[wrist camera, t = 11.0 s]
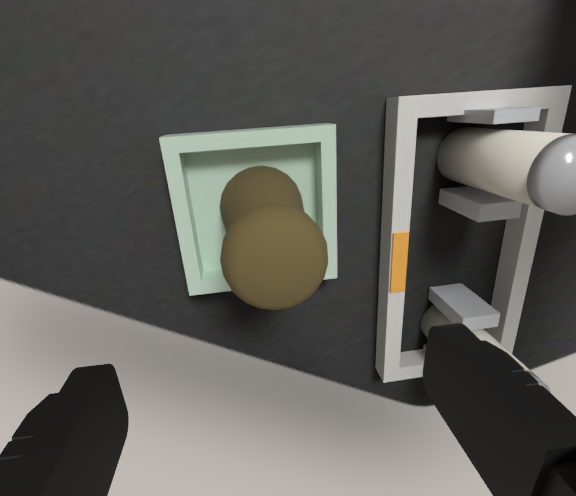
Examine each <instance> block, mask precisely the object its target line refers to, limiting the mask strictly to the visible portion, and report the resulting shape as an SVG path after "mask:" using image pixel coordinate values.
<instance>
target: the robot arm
mask: <svg viewBox="0 0 576 496" xmlns="http://www.w3.org/2000/svg"><path fill="white" fill-rule="evenodd" d="M423 381H424V386H425V389H426V391H427V393H428V395H429V397H430V399H431V400H432V402H433V403H434V405H435V406H436V408H437V410H438V411H439V413H440V414H441V416H442V417H443V419H444V420H445V422H446V423H447V425H448V427H449V428H450V430H451V431H452V433H453V434H454V436H455V437H456V439H457V440H458V442H459V444H460V445H461V447H462V448H463V449H464V451H465V453H466V454H467V456H468V457H469V459H470V461H471V462H472V464H473V465H474V467H475V468H476V470H477V471H478V473H479V474H480V476H481V478H482V479H483V480H484V482H485V484H486V485H487V487H488V488H489V490H490V491H491V493H492V495H493V496H576V416H574V415H573V414H572V413H571V412H570V411H569V410H568V409H567V408H566V407H565V406H564V405H563V404H562V403H561V402H559V401H558V400H557V399H556V398H555V397H554V396H553V395H552V394H551V393H550V392H549V391H548V390H547V389H546V388H545V387H543V386H542V385H541V386H540V385H539V383H538V381H537V380H536V379H535V378H534V377H533V376H532V375H531V374H530V373H529V372H525V371H524V368H523V367H522V366H521V365H520V364H519V363H518V362H517V361H516V360H515V359H514V358H512V357H511V356H510V355H509V354H508V353H507V352H505V351H504V350H502V349H500V348H498V347H497V346H495V345H493V344H491V343H490V342H488V341H486V340H483V341H481V340H480V339H479V338H478V337H477V336H476V335H475V334H474V333H473V332H472V331H471V330H470V329H469V328H468V327H467V326H465V325H464V324H462V323H455V324H447V325H438V326H432V327H431V328H430V329H429V332H428V338H427V345H426V352H425V358H424V365H423ZM127 431H128V411H127V407H126V404H125V401H124V397H123V394H122V390H121V387H120V384H119V381H118V377H117V374H116V371H115V368H114V367H113V365H111V364H104V365H96V366H87V367H78V368H75V369H74V370H73V371H72V372H71V374H70V375H69V377H68V379H67V380H66V382H65V384H64V385H63V387H62V388H61V390H60V392H59V393H54V394H49V395H48V396H47V397H46V398H45V399H44V400H42V401H41V402H40V403H39V404H38V405H37V406H36V407H35V408H33V409H32V410H31V411H30V412H29V413H28V414H27V415H26V417H25V418H24V420H23V421H22V423H21V424H20V426H19V427H18V429H17V430H16V432H15V433H14V435H13V436H12V441H10V442H8V444H7V445H6V447H5V448H4V450H3V451H2V453H1V454H0V496H107V495H108V492H109V489H110V485H111V483H112V479H113V476H114V473H115V470H116V467H117V464H118V461H119V458H120V455H121V452H122V449H123V446H124V443H125V440H126V437H127Z"/></svg>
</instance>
